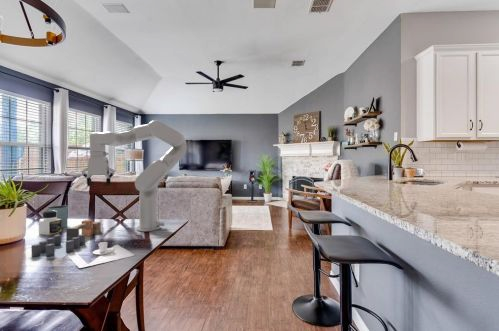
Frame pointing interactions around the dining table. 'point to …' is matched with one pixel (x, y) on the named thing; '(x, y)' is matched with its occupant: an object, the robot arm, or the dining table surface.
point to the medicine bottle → (49, 223)
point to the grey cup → (60, 214)
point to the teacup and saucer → (102, 255)
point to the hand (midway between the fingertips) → (98, 185)
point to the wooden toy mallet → (83, 229)
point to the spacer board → (56, 247)
